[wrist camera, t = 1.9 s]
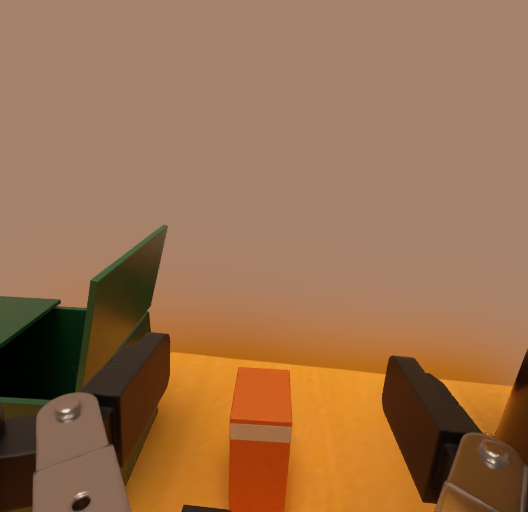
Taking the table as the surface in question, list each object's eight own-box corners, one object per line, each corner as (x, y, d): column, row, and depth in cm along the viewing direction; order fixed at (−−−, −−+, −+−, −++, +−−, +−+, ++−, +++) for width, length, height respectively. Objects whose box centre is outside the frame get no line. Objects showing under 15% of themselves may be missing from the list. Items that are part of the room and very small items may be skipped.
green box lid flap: (146, 304, 31) (150, 305, 31) (74, 397, 20) (80, 398, 20) (163, 224, 28) (167, 225, 28) (90, 279, 17) (98, 281, 17)
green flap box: (158, 411, 36) (148, 303, 31) (103, 536, 24) (76, 396, 20) (6, 402, 36) (-25, 294, 31) (-116, 521, 25) (-192, 380, 20)
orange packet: (282, 454, 31) (289, 369, 28) (283, 517, 26) (292, 422, 23) (236, 451, 31) (238, 366, 28) (228, 513, 26) (229, 418, 23)
